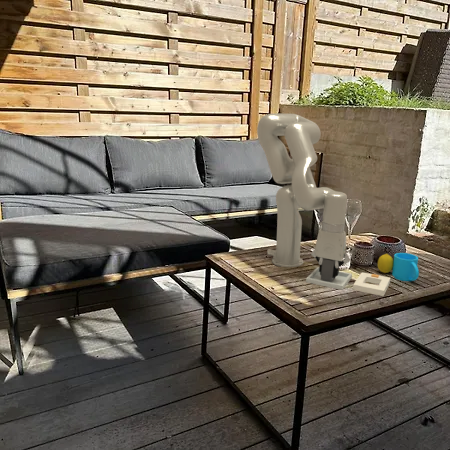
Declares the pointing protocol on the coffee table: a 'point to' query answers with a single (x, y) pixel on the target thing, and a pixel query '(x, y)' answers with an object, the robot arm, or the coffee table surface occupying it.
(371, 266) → the coffee table surface
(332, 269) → the plug
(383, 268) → the lemon
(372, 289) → the block
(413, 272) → the mug
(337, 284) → the tray
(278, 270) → the coffee table surface
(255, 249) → the coffee table surface
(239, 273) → the coffee table surface
